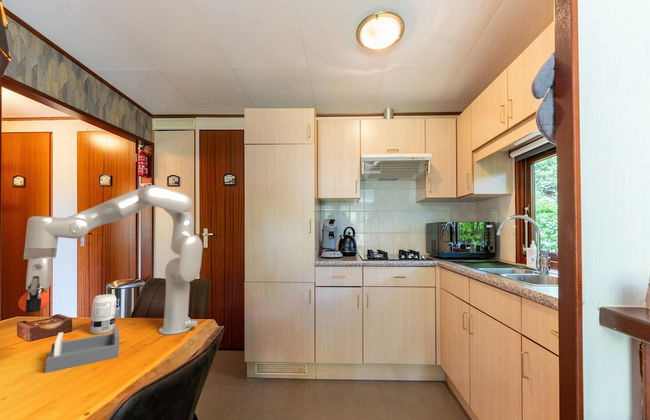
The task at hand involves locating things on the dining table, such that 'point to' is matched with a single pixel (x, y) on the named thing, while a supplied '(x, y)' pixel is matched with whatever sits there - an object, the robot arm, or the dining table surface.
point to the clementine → (43, 295)
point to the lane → (84, 351)
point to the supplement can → (103, 314)
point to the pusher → (58, 344)
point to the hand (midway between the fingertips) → (34, 308)
